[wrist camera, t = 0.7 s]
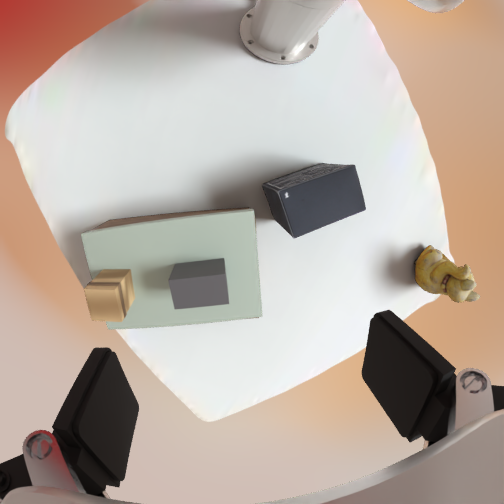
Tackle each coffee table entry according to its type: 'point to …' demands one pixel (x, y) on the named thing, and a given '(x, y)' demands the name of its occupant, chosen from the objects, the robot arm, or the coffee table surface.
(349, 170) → the small box
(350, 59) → the coffee table surface
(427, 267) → the decorative figurine
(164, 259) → the lid
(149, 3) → the coffee table surface
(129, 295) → the wooden block
